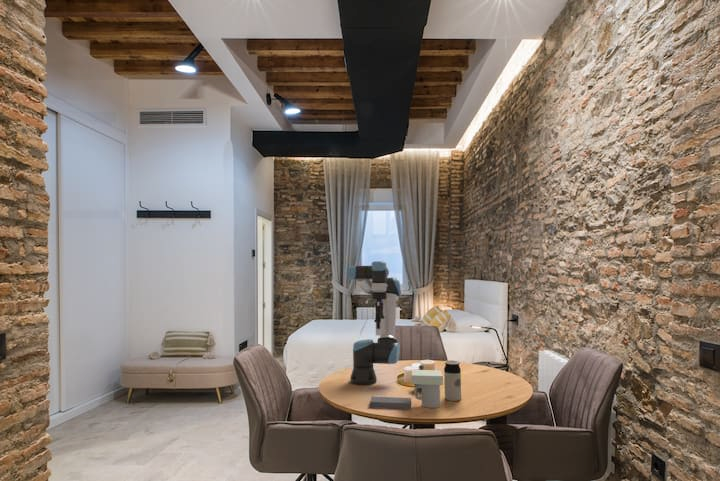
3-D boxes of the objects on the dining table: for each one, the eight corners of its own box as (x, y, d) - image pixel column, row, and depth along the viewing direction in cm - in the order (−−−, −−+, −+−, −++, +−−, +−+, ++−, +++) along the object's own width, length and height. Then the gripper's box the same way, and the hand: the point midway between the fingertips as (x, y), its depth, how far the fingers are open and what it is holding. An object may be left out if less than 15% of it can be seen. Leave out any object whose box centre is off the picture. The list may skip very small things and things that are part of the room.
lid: (412, 378, 199) (411, 369, 199) (441, 378, 197) (440, 370, 197) (412, 384, 188) (411, 375, 188) (442, 385, 186) (442, 376, 186)
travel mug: (442, 397, 203) (441, 360, 205) (456, 395, 206) (455, 359, 207) (449, 402, 196) (448, 364, 197) (464, 400, 198) (463, 362, 199)
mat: (371, 401, 197) (371, 396, 197) (411, 403, 194) (411, 397, 195) (370, 407, 189) (370, 401, 189) (411, 408, 186) (411, 403, 187)
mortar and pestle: (431, 393, 210) (430, 369, 211) (412, 392, 211) (412, 369, 212) (430, 387, 221) (429, 364, 222) (413, 386, 223) (412, 364, 223)
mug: (438, 402, 196) (437, 379, 196) (441, 408, 187) (441, 383, 188) (413, 402, 196) (413, 379, 197) (415, 408, 187) (415, 384, 188)
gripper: (384, 292, 195) (385, 337, 194) (388, 290, 220) (388, 329, 219) (369, 292, 196) (369, 337, 195) (374, 290, 221) (374, 329, 219)
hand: (379, 333), depth 207 cm, fingers open, 13 cm apart
